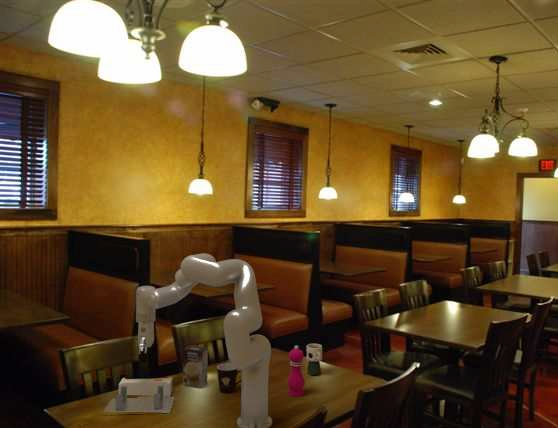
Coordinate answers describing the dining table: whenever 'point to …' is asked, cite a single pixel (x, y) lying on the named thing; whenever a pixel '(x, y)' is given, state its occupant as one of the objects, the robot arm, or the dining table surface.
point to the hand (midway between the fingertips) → (145, 358)
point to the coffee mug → (227, 378)
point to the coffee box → (195, 366)
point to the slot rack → (140, 403)
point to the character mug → (314, 358)
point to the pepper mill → (296, 373)
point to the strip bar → (146, 386)
